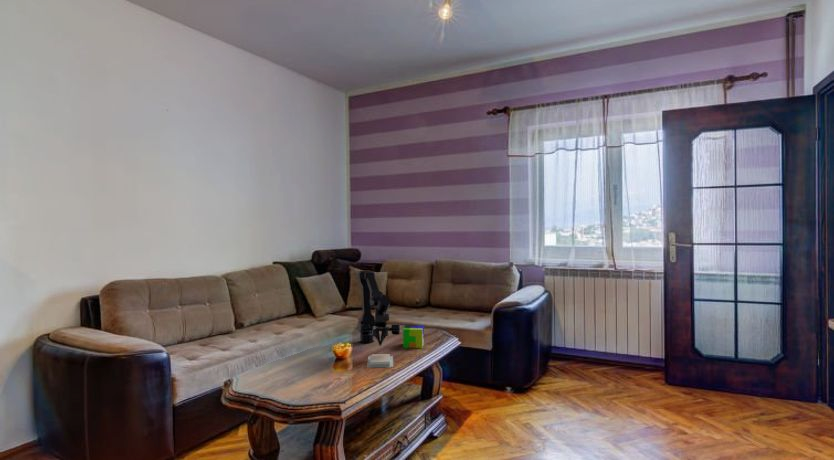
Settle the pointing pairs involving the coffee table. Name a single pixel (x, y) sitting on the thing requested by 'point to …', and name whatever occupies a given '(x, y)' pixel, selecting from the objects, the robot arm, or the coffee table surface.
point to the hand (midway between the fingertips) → (380, 345)
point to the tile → (380, 360)
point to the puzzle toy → (413, 336)
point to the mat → (383, 366)
